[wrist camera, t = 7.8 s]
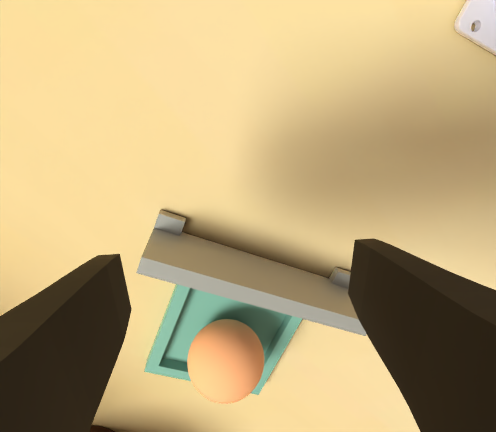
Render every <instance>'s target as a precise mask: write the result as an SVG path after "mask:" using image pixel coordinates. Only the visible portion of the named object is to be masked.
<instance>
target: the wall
mask: <svg viewBox="0 0 496 432" xmlns="http://www.w3.org/2000/svg"><path fill="white" fill-rule="evenodd" d="M185 220H186V218H184V217H181V216H178V215H175V214H172V213H169V212H166V211H163V210H160V212H159V215H158V218H157V221H156V224H155V227H154V229H153V232H152V234H151V236H150V239H149V241H148V243H147V246H146V248H145V250H144V253H143V255H142V257H141V260H140V263H139V267H138V270H137V273H138V274H141V275H145V276H149V277H152V278H156V279H160V280H163V281H167V282H171V283H174V284H178V285H181V286H185V287H189V288H192V289H196V290H200V291H203V292H207V293H211V294H214V295H218V296H221V297H225V298H229V299H232V300H236V301H240V302H243V303H247V304H251V305H254V306H258V307H261V308H265V309H269V310H272V311H276V312H280V313H283V314H287V315H291V316H294V317H298V318H302V319H305V320H309V321H312V322H316V323H320V324H323V325H327V326H331V327H334V328H338V329H342V330H345V331H349V332H352V333H356V334H360V335H363V336H366V332H365V330H364V328H363V327H362V325H361V323H360V321H359V319H358V317H357V314H356V312H355V310H354V307H353V305H352V302H351V300H350V297H349V295H348V289H349V281H350V274H351V272H349V271H346V270H343V269H340V268H337V267H335V269H334V270H333V272H332V274H331V276H330V277H329V278H326V277H323V276H320V275H317V274H313V273H310V272H307V271H304V270H301V269H297V268H294V267H291V266H288V265H285V264H282V263H278V262H275V261H272V260H269V259H266V258H263V257H259V256H256V255H253V254H250V253H247V252H244V251H240V250H237V249H234V248H231V247H228V246H225V245H221V244H218V243H215V242H212V241H209V240H206V239H202V238H199V237H196V236H193V235H190V234H187V233H183V232H182V229H183V226H184V224H185Z"/></svg>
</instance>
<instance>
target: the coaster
mask: <svg viewBox="0 0 496 432" xmlns="http://www.w3.org/2000/svg"><path fill="white" fill-rule="evenodd" d="M221 319H233V320H237V321H240V322H242V323H244V324H246V325H247V326H249V327H250V328H251V329H252V330H253V331H254V332H255V333H256V335H257V336H258V338H259V340H260V342H261V344H262V347H263V351H264V369H263V373H262V376H261V379H260V381H259V383H258V384H257V386H256V387H255V389H254V390H253V391H252V392H251V393H252V394H257V395H259V393H260V391H261V389H262V388H263V386H264V384H265V383H266V381H267V379H268V377H269V376H270V374H271V372H272V371H273V369H274V367H275V365H276V364H277V362H278V360H279V359H280V357H281V355H282V353H283V352H284V350H285V348H286V346H287V345H288V343H289V341H290V340H291V338H292V336H293V334H294V333H295V331H296V329H297V328H298V326H299V324H300V322H301V321H302V318H298V317H294V316H291V315H287V314H283V313H280V312H276V311H272V310H269V309H265V308H261V307H258V306H254V305H251V304H247V303H243V302H240V301H236V300H232V299H229V298H225V297H221V296H218V295H214V294H211V293H207V292H203V291H200V290H196V289H192V288H189V287H185V286H181V285H178V284H176V286H175V289H174V291H173V294H172V297H171V299H170V302H169V304H168V307H167V310H166V312H165V315H164V317H163V320H162V323H161V325H160V328H159V330H158V333H157V336H156V338H155V341H154V343H153V346H152V349H151V351H150V354H149V356H148V359H147V363H146V367H145V371H144V372H149V373H154V374H159V375H164V376H168V377H173V378H178V379H183V380H188V381H191V379H190V376H189V372H188V364H187V359H188V352H189V349H190V346H191V343H192V342H193V340H194V338H195V336H196V335H197V334H198V332H199V331H200V330H201V329H203V328H204V327H205V326H206V325H208V324H210V323H212V322H214V321H217V320H221Z"/></svg>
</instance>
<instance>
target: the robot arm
mask: <svg viewBox="0 0 496 432" xmlns="http://www.w3.org/2000/svg"><path fill="white" fill-rule="evenodd" d="M473 22H474V23H475V29H474V31H472V30H471V26H472V23H473ZM454 27H455V30H456V32H457V33H459V34H460V35H462V36H464V37H465V38H467V39H469V40H471V41H472V42H474V43H476V44H477V45H479V46H481V47H482V48H484V49H486V50H487V51H489V52H491V53H493V54H494V55H496V0H466V2H465V4H464V6H463V7H462V9H461V11H460V13H459V15H458V16H457V18H456V21H455V26H454ZM348 295H349V297H350V300H351V302H352V305H353V307H354V310H355V312H356V314H357V317H358V319H359V321H360V323H361V325H362V327H363V328H364V330H365V332H366V334H367V335H368V337H369V339H370V340H371V342H372V344H373V345H374V347H375V349H376V351H377V352H378V354H379V356H380V357H381V359H382V361H383V362H384V364H385V366H386V367H387V369H388V371H389V372H390V374H391V376H392V377H393V379H394V381H395V382H396V384H397V386H398V387H399V389H400V391H401V393H402V395H403V397H404V399H405V400H406V402H407V404H408V406H409V408H410V410H411V412H412V414H413V417H414V419H415V421H416V423H417V425H418V427H419V429H420V431H421V432H496V290H494V289H491V288H488V287H486V286H483V285H481V284H478V283H476V282H473V281H471V280H468V279H466V278H464V277H461V276H459V275H456V274H454V273H452V272H449V271H447V270H445V269H443V268H440V267H438V266H436V265H434V264H431V263H429V262H427V261H425V260H423V259H420V258H418V257H416V256H414V255H412V254H410V253H407V252H405V251H403V250H401V249H399V248H396V247H394V246H392V245H390V244H387V243H385V242H382V241H379V240H376V239H361V240H355V243H354V251H353V259H352V266H351V274H350V281H349V289H348ZM130 313H131V305H130V300H129V296H128V291H127V286H126V282H125V277H124V272H123V268H122V263H121V258H120V254H113V255H98V256H96V257H94V258H93V259H91V260H89V261H87V262H86V263H84V264H83V265H81V266H79V267H78V268H76V269H75V270H73V271H72V272H70V273H69V274H67V275H66V276H64V277H62V278H61V279H59V280H58V281H56V282H55V283H53V284H52V285H50V286H49V287H47V288H46V289H44V290H42V291H41V292H39V293H38V294H36V295H35V296H33V297H31V298H30V299H28V300H26V301H25V302H23V303H21V304H20V305H18V306H16V307H15V308H13V309H11V310H10V311H8V312H6V313H5V314H3V315H2V316H0V432H89V431H90V428H91V425H92V423H93V420H94V417H95V414H96V412H97V409H98V407H99V404H100V401H101V399H102V396H103V394H104V391H105V389H106V386H107V383H108V381H109V378H110V376H111V373H112V371H113V368H114V366H115V363H116V360H117V358H118V355H119V352H120V350H121V347H122V344H123V342H124V338H125V335H126V331H127V327H128V322H129V318H130Z"/></svg>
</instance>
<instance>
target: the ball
mask: <svg viewBox="0 0 496 432" xmlns="http://www.w3.org/2000/svg"><path fill="white" fill-rule="evenodd" d="M187 364H188V372H189V376H190V379H191V381H192V383H193V385H194V387H195V388H196V390H197V391H198V392H199V393H200V394H201V395H202V396H204V397H205V398H207V399H208V400H210V401H213V402H216V403H222V404H228V403H234V402H237V401H239V400H241V399H243V398H245V397H246V396H248V395H249V394H250V393H251V392H252V391H253V390H254V389H255V387H256V386H257V384H258V383H259V381H260V379H261V376H262V373H263V369H264V351H263V347H262V344H261V342H260V340H259V338H258V336H257V335H256V333H255V332H254V331H253V330H252V329H251V328H250V327H249V326H247V325H246V324H244V323H242V322H240V321H237V320H233V319H221V320H217V321H214V322H212V323H210V324H208V325H206V326H205V327H204V328H203V329H201V330H200V331H199V332H198V334H197V335H196V336H195V338H194V340H193V342H192V343H191V346H190V349H189V352H188V359H187Z"/></svg>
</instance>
